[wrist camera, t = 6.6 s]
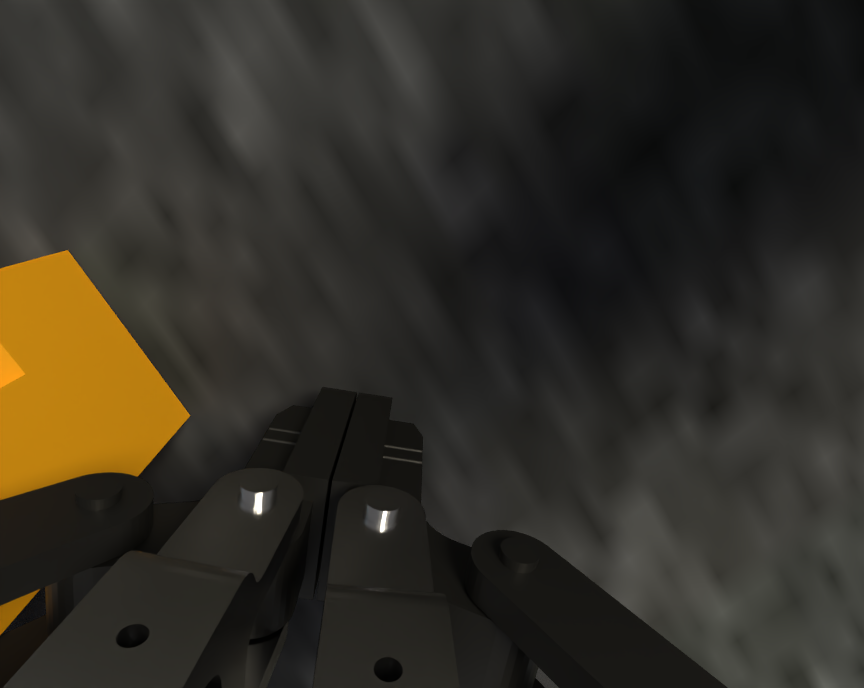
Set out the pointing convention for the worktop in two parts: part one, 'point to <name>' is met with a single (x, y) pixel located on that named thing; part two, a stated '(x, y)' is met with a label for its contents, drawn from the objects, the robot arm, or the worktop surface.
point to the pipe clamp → (71, 386)
